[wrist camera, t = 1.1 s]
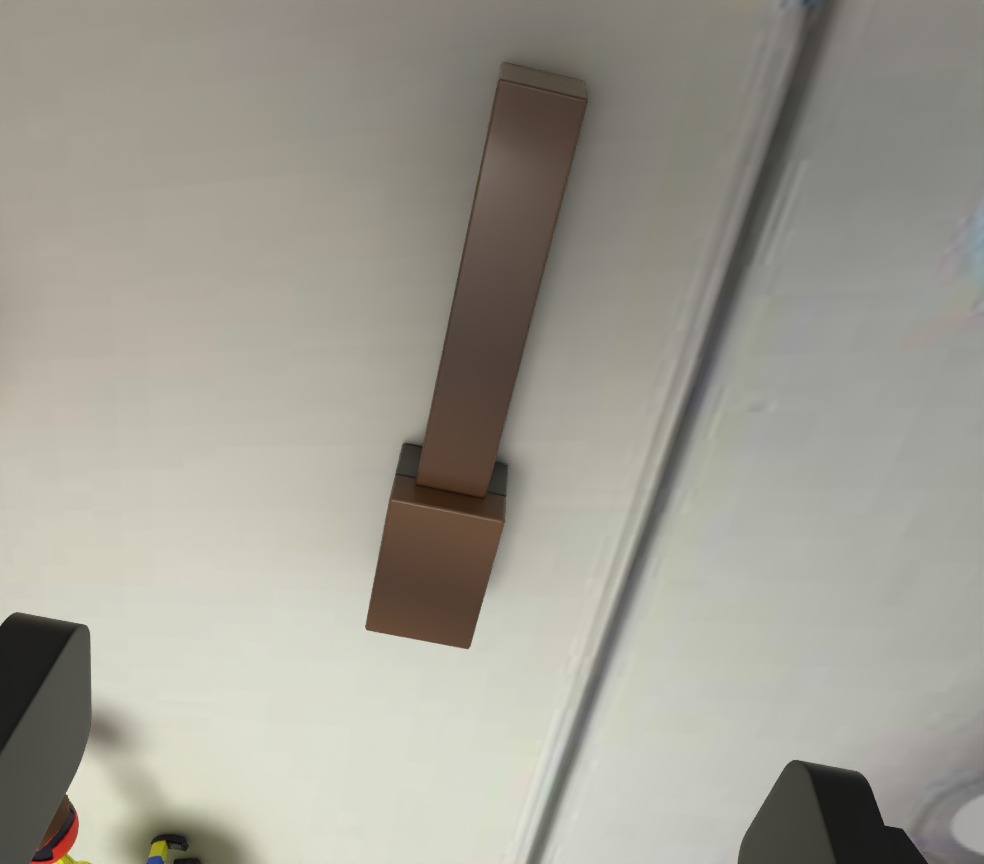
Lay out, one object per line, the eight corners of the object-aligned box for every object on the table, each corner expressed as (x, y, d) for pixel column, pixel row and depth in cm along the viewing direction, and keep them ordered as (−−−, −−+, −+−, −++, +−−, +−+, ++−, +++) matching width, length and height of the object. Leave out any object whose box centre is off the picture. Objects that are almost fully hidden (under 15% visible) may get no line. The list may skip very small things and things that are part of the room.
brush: (477, 55, 22) (468, 79, 19) (609, 86, 22) (617, 113, 20) (378, 569, 30) (364, 630, 28) (475, 588, 30) (469, 650, 28)
